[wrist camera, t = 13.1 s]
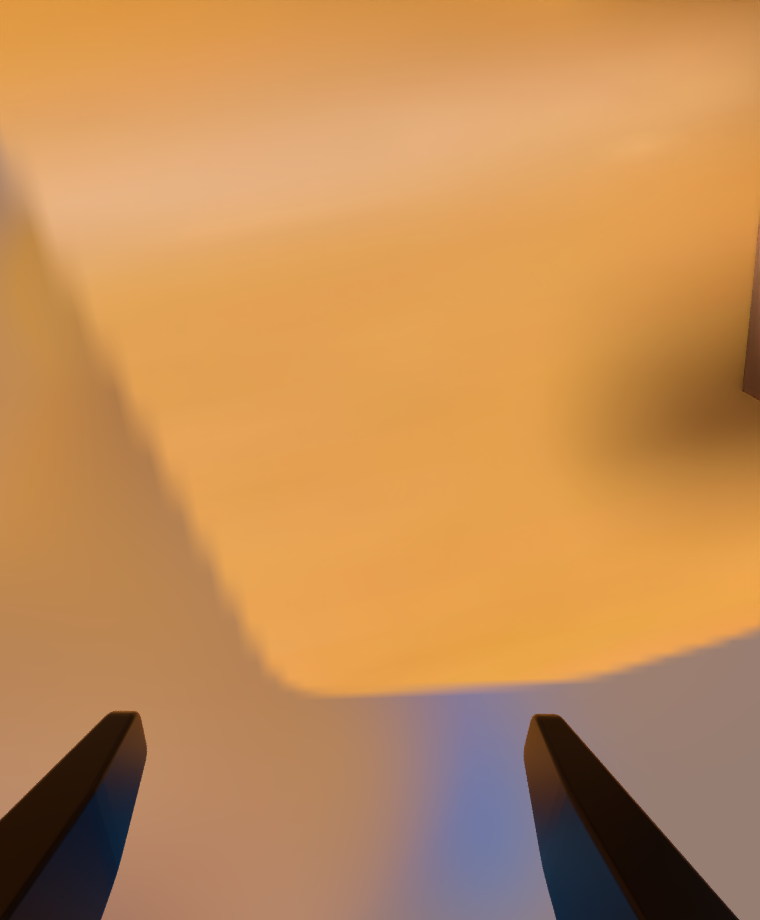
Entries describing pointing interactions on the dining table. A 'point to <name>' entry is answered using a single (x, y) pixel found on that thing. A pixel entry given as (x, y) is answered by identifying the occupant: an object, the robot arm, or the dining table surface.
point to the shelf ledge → (754, 336)
